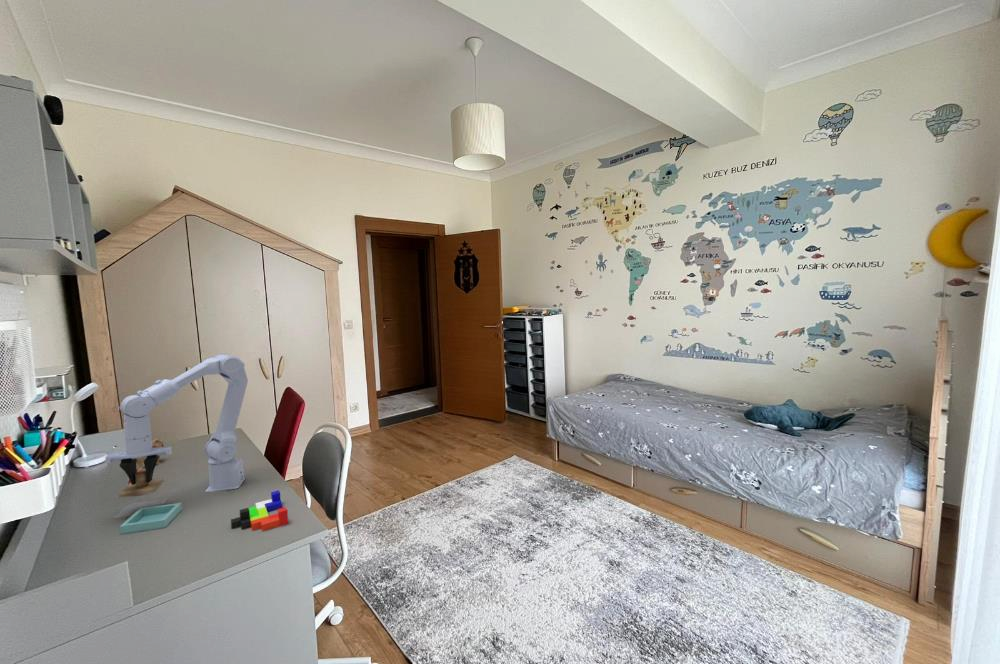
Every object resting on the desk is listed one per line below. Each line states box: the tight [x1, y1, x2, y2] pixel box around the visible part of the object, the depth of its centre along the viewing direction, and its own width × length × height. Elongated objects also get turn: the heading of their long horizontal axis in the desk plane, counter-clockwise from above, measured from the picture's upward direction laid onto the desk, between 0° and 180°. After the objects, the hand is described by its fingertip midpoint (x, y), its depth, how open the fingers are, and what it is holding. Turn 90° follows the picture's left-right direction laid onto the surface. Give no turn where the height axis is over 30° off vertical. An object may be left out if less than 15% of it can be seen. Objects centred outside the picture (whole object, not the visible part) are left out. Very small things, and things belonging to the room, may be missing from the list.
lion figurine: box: [137, 438, 165, 471], centre depth 153 cm, size 15×5×9 cm, turn 2°
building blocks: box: [230, 489, 289, 532], centre depth 115 cm, size 15×13×4 cm
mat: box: [112, 498, 169, 519], centre depth 122 cm, size 10×9×1 cm
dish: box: [119, 502, 183, 535], centre depth 114 cm, size 10×10×2 cm
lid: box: [118, 470, 165, 499], centre depth 119 cm, size 8×8×5 cm
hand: (142, 482), depth 119 cm, fingers closed on lid, 3 cm apart
